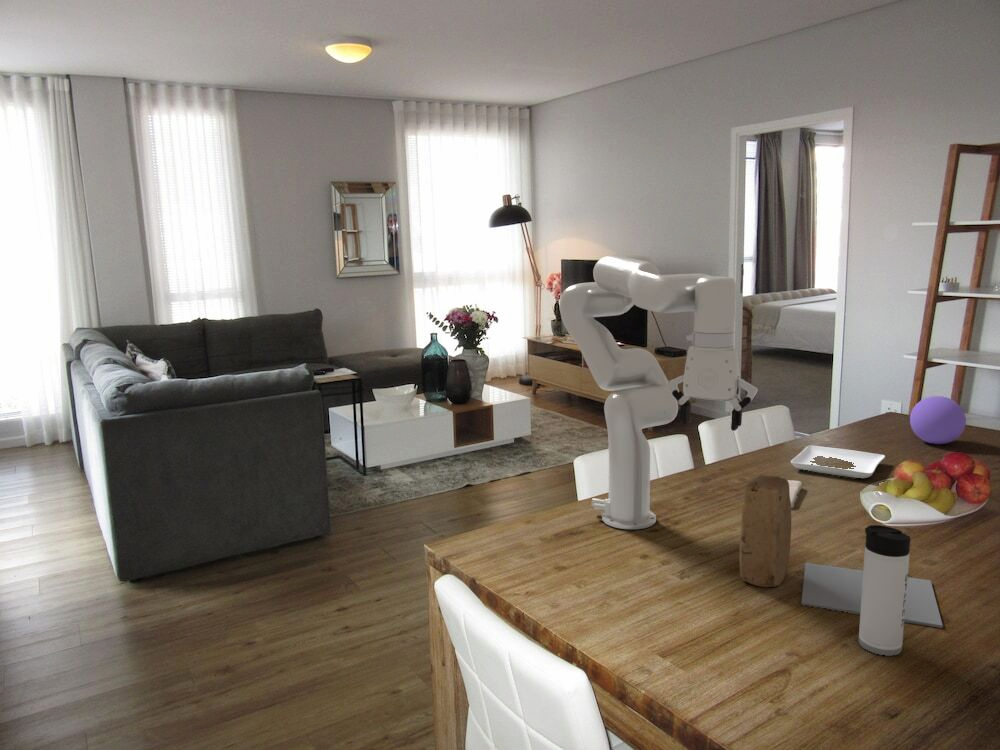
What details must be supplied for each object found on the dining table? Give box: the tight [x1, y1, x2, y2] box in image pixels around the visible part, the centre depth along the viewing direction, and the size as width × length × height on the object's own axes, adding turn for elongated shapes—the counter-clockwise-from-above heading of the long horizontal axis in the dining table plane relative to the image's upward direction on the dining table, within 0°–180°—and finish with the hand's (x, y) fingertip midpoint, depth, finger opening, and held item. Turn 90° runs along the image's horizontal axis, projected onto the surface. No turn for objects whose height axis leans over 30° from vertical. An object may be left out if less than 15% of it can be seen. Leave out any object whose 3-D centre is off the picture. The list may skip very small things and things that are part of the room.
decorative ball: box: [909, 395, 967, 445], centre depth 231 cm, size 15×15×15 cm
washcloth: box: [786, 479, 803, 509], centre depth 190 cm, size 12×18×3 cm, turn 152°
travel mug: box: [858, 524, 912, 657], centre depth 118 cm, size 6×7×20 cm
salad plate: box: [790, 444, 886, 479], centre depth 211 cm, size 21×21×3 cm
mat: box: [801, 562, 944, 629], centre depth 137 cm, size 22×18×1 cm
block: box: [739, 474, 792, 588], centre depth 143 cm, size 11×8×20 cm
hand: (710, 426), depth 147 cm, fingers open, 9 cm apart
